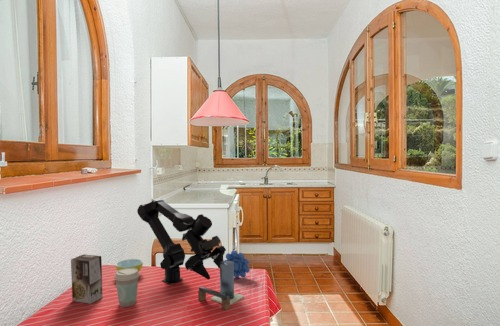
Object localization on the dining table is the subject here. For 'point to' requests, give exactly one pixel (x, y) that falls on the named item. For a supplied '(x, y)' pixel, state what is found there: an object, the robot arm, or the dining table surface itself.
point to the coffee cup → (127, 286)
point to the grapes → (238, 263)
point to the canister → (227, 278)
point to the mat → (236, 298)
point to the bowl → (129, 264)
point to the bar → (214, 293)
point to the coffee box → (86, 278)
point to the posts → (224, 302)
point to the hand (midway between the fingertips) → (217, 275)
